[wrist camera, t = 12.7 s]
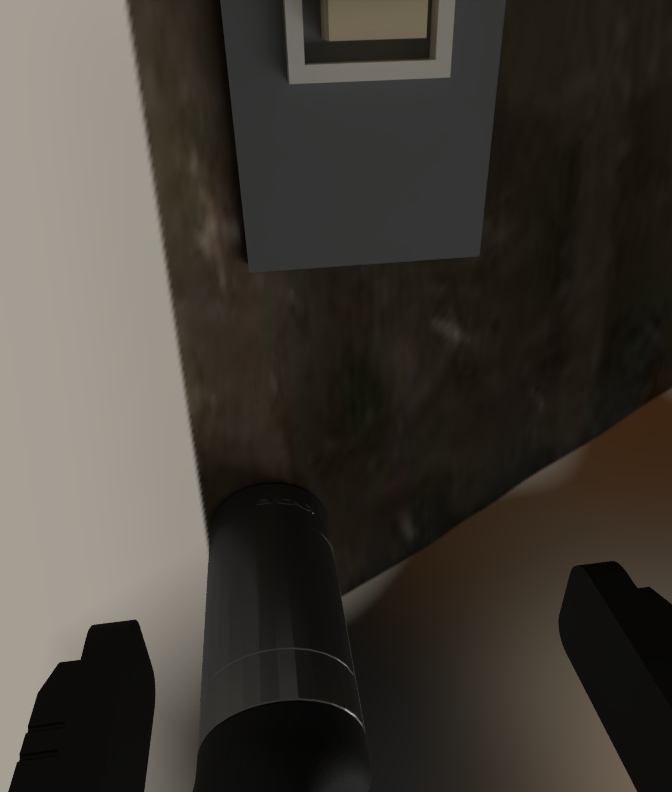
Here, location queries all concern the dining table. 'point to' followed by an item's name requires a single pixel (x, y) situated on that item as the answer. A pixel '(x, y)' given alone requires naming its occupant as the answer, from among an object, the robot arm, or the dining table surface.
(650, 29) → the dining table surface
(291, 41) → the slot frame
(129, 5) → the dining table surface
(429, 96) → the mat
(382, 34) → the tan rectangular block
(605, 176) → the dining table surface
